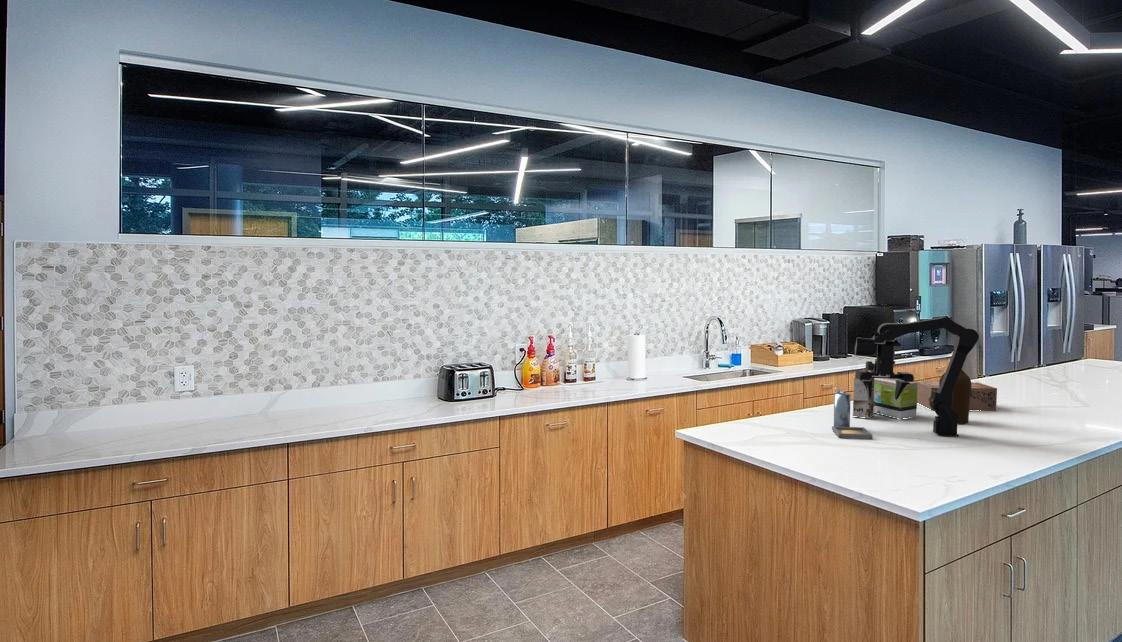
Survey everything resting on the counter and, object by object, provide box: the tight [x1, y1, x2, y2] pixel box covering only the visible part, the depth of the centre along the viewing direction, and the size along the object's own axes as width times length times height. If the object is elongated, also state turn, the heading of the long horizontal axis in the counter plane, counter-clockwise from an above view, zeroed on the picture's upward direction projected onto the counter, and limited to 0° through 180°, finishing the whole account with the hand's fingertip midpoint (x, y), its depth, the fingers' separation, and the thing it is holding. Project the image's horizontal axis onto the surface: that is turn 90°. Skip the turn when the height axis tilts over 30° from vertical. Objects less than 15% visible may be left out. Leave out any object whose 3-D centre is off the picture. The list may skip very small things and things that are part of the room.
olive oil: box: [938, 369, 972, 425], centre depth 240 cm, size 11×11×25 cm
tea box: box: [874, 378, 918, 419], centre depth 252 cm, size 15×10×15 cm, turn 25°
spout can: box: [833, 386, 851, 427], centre depth 232 cm, size 6×6×16 cm
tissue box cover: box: [915, 381, 998, 412], centre depth 266 cm, size 26×14×10 cm, turn 83°
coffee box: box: [852, 377, 875, 419], centre depth 251 cm, size 9×6×16 cm
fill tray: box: [831, 425, 873, 440], centre depth 223 cm, size 11×11×2 cm
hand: (882, 399), depth 228 cm, fingers open, 9 cm apart
